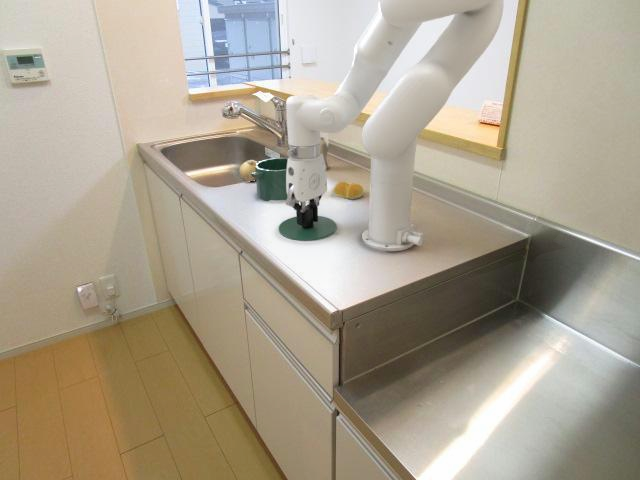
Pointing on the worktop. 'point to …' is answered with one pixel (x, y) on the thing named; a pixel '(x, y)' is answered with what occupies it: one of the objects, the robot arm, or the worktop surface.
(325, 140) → the pepper mill
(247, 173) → the onion
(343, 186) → the bread roll
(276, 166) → the pot
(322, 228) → the lid
